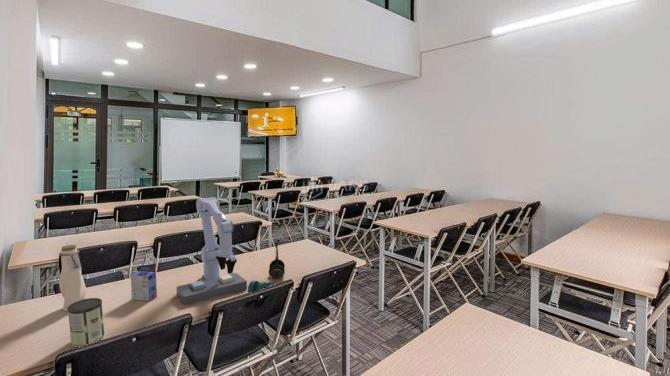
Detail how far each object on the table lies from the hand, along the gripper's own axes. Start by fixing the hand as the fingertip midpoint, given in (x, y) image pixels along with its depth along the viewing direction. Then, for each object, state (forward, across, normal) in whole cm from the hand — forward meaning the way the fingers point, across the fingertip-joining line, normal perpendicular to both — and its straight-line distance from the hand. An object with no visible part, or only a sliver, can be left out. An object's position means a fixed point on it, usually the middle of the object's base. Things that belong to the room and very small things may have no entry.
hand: (226, 271), depth 171 cm
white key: (+6, -1, 0) cm, 7 cm away
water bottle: (+10, -29, -58) cm, 65 cm away
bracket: (+10, +16, +11) cm, 22 cm away
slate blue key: (+7, -3, -14) cm, 15 cm away
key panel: (+9, -2, -7) cm, 12 cm away
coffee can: (+10, +5, -59) cm, 60 cm away
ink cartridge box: (+10, -18, -33) cm, 39 cm away
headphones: (+10, +5, +28) cm, 30 cm away
